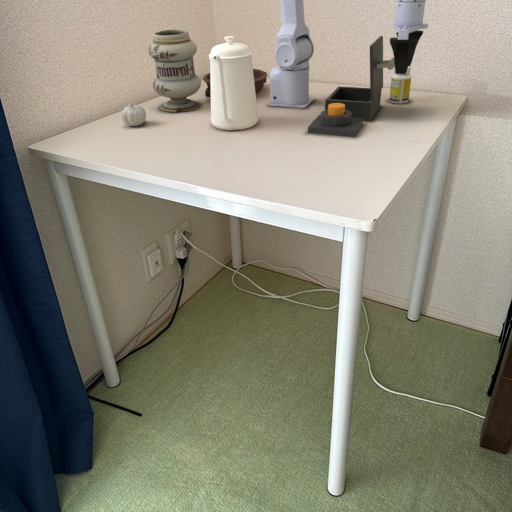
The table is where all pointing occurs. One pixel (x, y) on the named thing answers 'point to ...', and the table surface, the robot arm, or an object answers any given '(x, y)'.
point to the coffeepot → (232, 86)
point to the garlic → (133, 115)
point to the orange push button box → (335, 124)
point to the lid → (377, 67)
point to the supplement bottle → (400, 87)
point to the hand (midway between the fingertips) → (403, 69)
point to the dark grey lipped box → (355, 101)
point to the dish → (258, 81)
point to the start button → (336, 109)
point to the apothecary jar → (175, 69)
